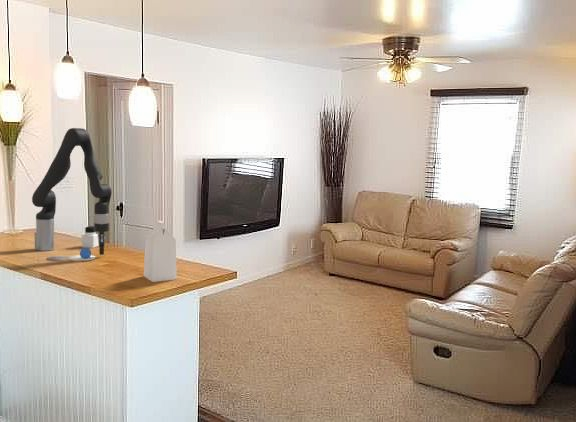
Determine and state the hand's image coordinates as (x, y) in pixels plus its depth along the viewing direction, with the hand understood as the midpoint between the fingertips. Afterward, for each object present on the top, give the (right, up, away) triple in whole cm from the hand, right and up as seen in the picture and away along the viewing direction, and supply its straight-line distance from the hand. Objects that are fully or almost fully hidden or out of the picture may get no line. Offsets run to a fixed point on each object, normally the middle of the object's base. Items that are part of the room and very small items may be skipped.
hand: (101, 254), depth 294 cm
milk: (+40, -8, -40) cm, 57 cm away
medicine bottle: (-16, +2, +28) cm, 32 cm away
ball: (-7, +1, -5) cm, 8 cm away
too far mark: (-21, -2, -8) cm, 22 cm away
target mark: (-9, -2, -3) cm, 10 cm away
